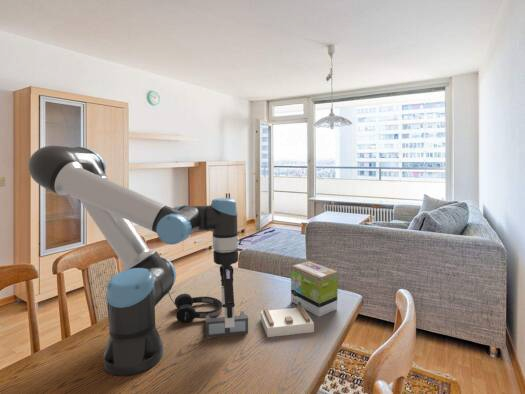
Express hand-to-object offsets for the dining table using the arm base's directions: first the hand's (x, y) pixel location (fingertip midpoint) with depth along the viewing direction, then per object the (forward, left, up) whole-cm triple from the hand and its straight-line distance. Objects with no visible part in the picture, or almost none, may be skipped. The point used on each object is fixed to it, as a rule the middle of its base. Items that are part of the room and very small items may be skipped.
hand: (227, 315), depth 96 cm
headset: (-10, +16, -6) cm, 20 cm away
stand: (+19, +1, -6) cm, 20 cm away
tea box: (+33, +13, -6) cm, 36 cm away
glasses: (0, +4, -6) cm, 7 cm away
